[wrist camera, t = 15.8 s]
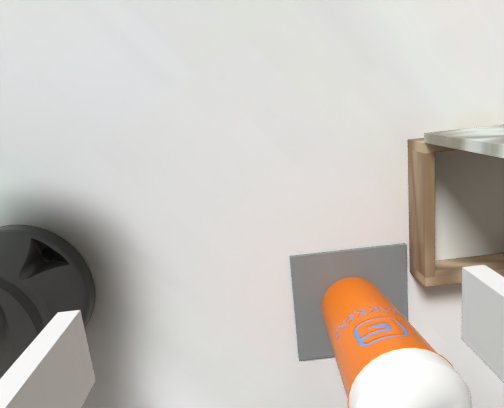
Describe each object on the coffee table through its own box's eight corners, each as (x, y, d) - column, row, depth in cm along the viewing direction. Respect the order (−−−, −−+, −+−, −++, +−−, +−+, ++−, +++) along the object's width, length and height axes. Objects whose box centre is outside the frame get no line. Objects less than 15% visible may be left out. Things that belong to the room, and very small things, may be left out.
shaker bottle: (401, 320, 48) (511, 465, 29) (330, 351, 49) (392, 514, 29) (372, 255, 46) (470, 364, 27) (299, 288, 47) (344, 418, 27)
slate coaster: (298, 358, 49) (299, 360, 49) (289, 256, 46) (290, 257, 46) (406, 346, 50) (408, 348, 49) (405, 243, 46) (406, 244, 46)
